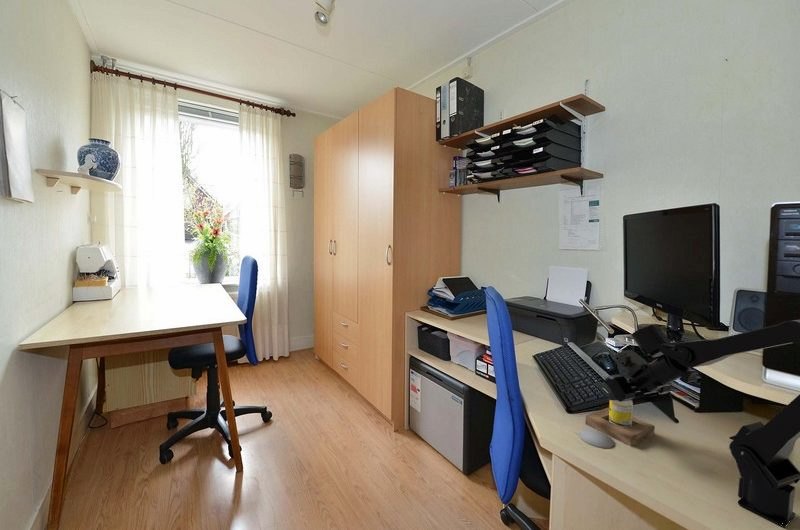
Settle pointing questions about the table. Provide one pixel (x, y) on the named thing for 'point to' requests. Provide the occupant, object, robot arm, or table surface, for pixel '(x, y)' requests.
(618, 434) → the holder block
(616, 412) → the supplement bottle
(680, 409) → the table surface
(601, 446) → the grey oval disc
